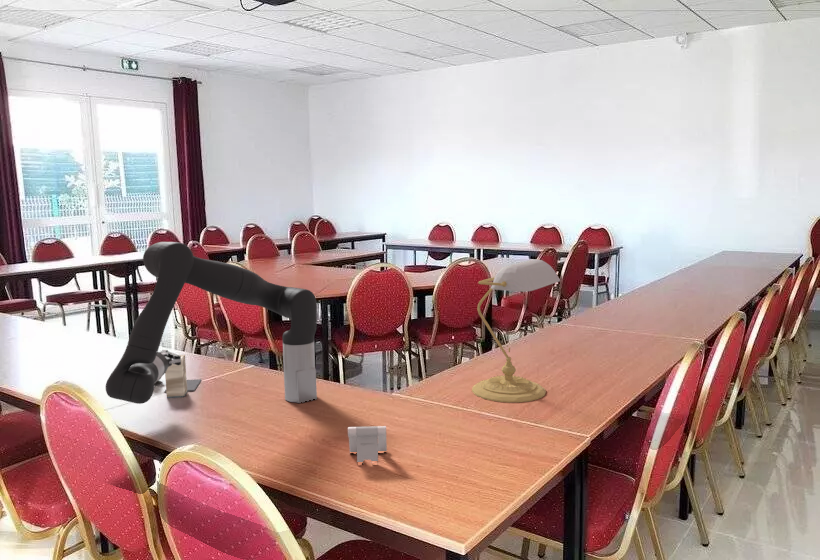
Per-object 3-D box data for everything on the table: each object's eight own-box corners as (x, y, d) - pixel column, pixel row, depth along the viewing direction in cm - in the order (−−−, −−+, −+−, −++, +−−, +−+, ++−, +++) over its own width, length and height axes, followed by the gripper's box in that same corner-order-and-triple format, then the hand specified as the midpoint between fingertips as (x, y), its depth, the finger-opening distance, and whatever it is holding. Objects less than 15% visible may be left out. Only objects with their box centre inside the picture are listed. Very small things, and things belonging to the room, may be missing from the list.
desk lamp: (524, 412, 180) (526, 268, 175) (452, 398, 193) (451, 264, 187) (563, 383, 206) (566, 258, 200) (497, 373, 218) (497, 255, 213)
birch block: (183, 397, 197) (181, 358, 196) (166, 398, 197) (164, 359, 195) (187, 392, 202) (185, 354, 201) (170, 393, 202) (168, 355, 200)
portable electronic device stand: (386, 451, 154) (386, 417, 153) (386, 465, 146) (386, 429, 145) (350, 452, 154) (349, 418, 153) (348, 466, 146) (347, 430, 145)
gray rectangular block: (194, 391, 203) (194, 390, 203) (164, 392, 202) (164, 391, 202) (201, 380, 215) (201, 379, 215) (173, 381, 214) (173, 380, 214)
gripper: (174, 354, 171) (188, 340, 188) (122, 355, 169) (140, 341, 186) (176, 381, 172) (189, 365, 189) (123, 383, 170) (142, 366, 187)
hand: (165, 353), depth 187 cm, fingers closed
